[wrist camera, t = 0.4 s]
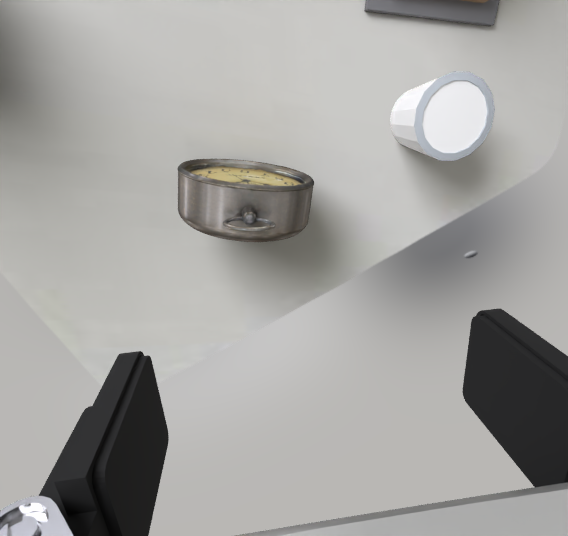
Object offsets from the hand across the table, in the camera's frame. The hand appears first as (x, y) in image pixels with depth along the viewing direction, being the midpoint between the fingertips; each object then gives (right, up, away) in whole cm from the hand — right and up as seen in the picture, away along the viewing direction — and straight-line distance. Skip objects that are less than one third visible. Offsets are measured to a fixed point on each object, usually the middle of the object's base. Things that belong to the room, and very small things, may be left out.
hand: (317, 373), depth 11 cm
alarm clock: (-5, +11, +27) cm, 30 cm away
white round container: (+12, +18, +27) cm, 34 cm away
